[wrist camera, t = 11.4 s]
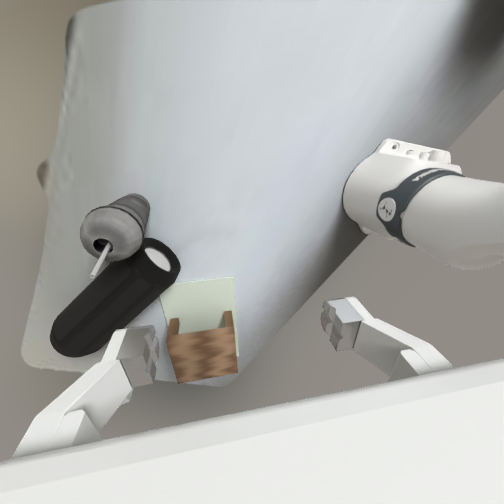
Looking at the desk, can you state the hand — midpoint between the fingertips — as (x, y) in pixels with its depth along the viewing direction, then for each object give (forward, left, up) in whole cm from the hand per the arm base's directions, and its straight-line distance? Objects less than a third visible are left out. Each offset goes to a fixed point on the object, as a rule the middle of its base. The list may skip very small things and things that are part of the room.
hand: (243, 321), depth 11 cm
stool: (+6, +30, -30) cm, 43 cm away
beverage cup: (+14, +4, -34) cm, 37 cm away
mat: (+6, +34, -34) cm, 48 cm away
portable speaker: (+20, +20, -34) cm, 45 cm away
